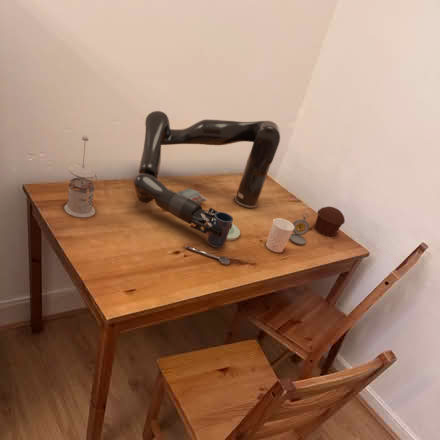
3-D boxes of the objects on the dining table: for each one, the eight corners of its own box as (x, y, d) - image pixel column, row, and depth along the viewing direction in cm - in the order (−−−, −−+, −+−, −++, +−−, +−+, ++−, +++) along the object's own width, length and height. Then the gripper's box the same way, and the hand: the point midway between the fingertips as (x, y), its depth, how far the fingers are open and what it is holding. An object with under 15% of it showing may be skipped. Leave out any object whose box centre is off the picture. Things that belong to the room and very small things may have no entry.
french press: (57, 208, 140) (60, 133, 125) (79, 197, 149) (85, 125, 134) (83, 220, 139) (89, 145, 124) (104, 208, 148) (112, 137, 133)
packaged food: (206, 205, 170) (209, 193, 167) (187, 212, 161) (190, 201, 158) (188, 195, 173) (191, 184, 170) (169, 202, 164) (172, 190, 161)
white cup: (286, 246, 161) (296, 223, 155) (282, 256, 155) (292, 232, 149) (266, 238, 162) (275, 215, 156) (261, 247, 156) (271, 224, 150)
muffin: (337, 228, 185) (347, 208, 179) (338, 241, 176) (349, 220, 170) (311, 220, 185) (320, 199, 179) (310, 232, 176) (320, 210, 170)
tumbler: (209, 234, 150) (217, 209, 144) (226, 240, 150) (234, 216, 144) (205, 243, 145) (212, 217, 139) (222, 249, 145) (231, 224, 139)
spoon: (186, 245, 144) (187, 242, 143) (230, 260, 144) (231, 258, 143) (183, 250, 141) (184, 248, 140) (228, 266, 141) (229, 264, 140)
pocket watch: (294, 246, 163) (304, 223, 157) (283, 233, 168) (292, 211, 162) (311, 245, 167) (321, 223, 161) (299, 233, 173) (308, 211, 167)
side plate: (209, 217, 163) (210, 214, 162) (242, 228, 163) (242, 226, 162) (201, 232, 153) (201, 230, 152) (235, 244, 152) (236, 242, 152)
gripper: (175, 205, 139) (220, 228, 135) (197, 192, 150) (239, 213, 146) (171, 225, 143) (214, 247, 140) (192, 211, 154) (232, 232, 151)
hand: (226, 230), depth 143 cm, fingers closed on tumbler, 6 cm apart
